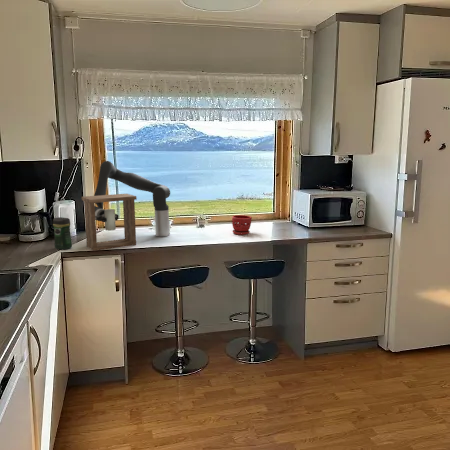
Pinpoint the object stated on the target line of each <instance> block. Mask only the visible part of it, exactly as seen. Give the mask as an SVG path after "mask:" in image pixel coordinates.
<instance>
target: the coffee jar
mask: <svg viewBox="0 0 450 450" xmlns="http://www.w3.org/2000/svg"><path fill="white" fill-rule="evenodd" d="M52 226H53V232H54V233H53V234H54V249H56V250H62V249H63V250H70V249H71V248H73V243H72V242H73V241H72V236H71V219H70V218H68V217H63V216H62V217H61V216H59V217H54V218H53V219H52Z"/></svg>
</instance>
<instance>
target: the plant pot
mask: <svg viewBox="0 0 450 450" xmlns="http://www.w3.org/2000/svg"><path fill="white" fill-rule="evenodd" d="M231 218H232V219H231V223H232V224H231V225H232V228H233V230H232V233H233V234H234V235H238V236H239V235H240V236H245V235H249V234H250V229H251V225H252V216H249V215H245V214H244V215H243V214H239V215H238V214H236V215H232V217H231Z"/></svg>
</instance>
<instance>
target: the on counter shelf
mask: <svg viewBox="0 0 450 450" xmlns="http://www.w3.org/2000/svg"><path fill="white" fill-rule="evenodd" d="M137 199H138V198H137V196H136V195H133V194H130V193H116V194H106V195H99V196H94V195H90V196H89V195H87V196H81V201H83V205H84V206H83V207H84V220H85V221H84V222H85V223H84V224H85V235H86V236H85V237H86V238H85V239H86V247H88V248H89V249H90V248H91V249H90V250H92V251H93V252H95V251H103V250H108V249H110V250H111V249H116V248H118V249H119V248H123V247H130V246H136V245H137V231H136V230H137V229H136V211H135V209H136V207H135V206H136V205H135V200H136V201H137ZM121 201H122V208H123V230H124V231H123V232H124V238H121V239H120V238H119V239H112V240H103V241H98V240H97V225H96V224H97V222H96V221H97V220H95V206H96V204H95V203H100V202H103V203H110V202H121Z"/></svg>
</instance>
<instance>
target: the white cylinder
mask: <svg viewBox="0 0 450 450" xmlns="http://www.w3.org/2000/svg"><path fill="white" fill-rule="evenodd" d="M104 211H105V218H107V222H104V228H105V231H108V232H109V231H115V230H116V229H117V228H116V220H115V214H116V210H115V209H114V208H108V209H107V208H106V209H104Z"/></svg>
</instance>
